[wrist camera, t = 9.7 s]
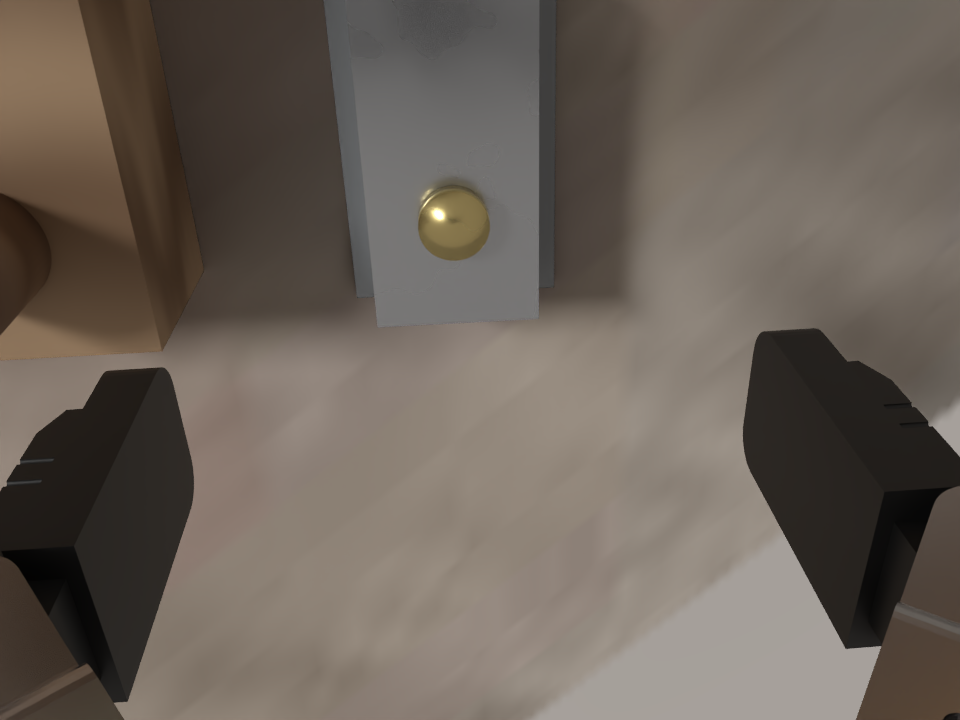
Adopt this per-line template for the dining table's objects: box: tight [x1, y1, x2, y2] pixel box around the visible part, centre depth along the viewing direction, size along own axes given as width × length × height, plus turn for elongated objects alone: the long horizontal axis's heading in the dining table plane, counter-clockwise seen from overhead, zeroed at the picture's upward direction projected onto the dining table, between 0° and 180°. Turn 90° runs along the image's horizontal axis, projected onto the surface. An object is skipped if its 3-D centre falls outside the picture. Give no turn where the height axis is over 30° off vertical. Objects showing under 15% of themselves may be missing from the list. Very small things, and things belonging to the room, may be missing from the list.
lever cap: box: [345, 0, 539, 327], centre depth 23 cm, size 9×4×4 cm, turn 2°
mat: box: [323, 0, 556, 298], centre depth 25 cm, size 10×6×1 cm, turn 2°
